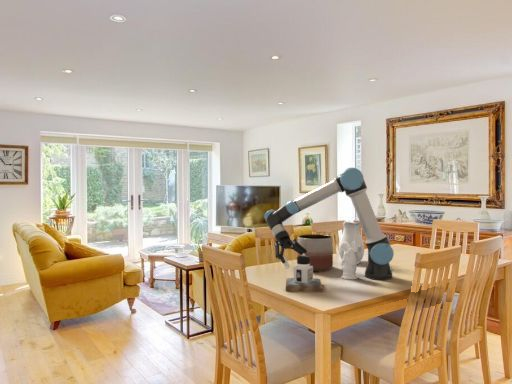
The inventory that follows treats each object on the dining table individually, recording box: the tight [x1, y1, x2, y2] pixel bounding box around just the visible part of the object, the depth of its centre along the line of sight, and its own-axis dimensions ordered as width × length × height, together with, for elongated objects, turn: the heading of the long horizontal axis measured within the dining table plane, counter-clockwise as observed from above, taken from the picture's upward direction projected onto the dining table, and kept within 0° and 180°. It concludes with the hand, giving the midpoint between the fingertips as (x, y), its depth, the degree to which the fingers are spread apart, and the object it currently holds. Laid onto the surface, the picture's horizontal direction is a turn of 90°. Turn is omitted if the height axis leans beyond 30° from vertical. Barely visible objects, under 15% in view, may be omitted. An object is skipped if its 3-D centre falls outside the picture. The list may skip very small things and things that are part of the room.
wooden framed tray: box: [285, 277, 323, 293], centre depth 204 cm, size 18×16×3 cm
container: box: [293, 256, 314, 284], centre depth 204 cm, size 8×8×13 cm
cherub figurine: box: [339, 241, 362, 280], centre depth 224 cm, size 12×12×22 cm
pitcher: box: [338, 219, 365, 264], centre depth 270 cm, size 24×17×28 cm
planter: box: [296, 233, 334, 272], centre depth 249 cm, size 22×22×20 cm
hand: (298, 266), depth 207 cm, fingers open, 13 cm apart
